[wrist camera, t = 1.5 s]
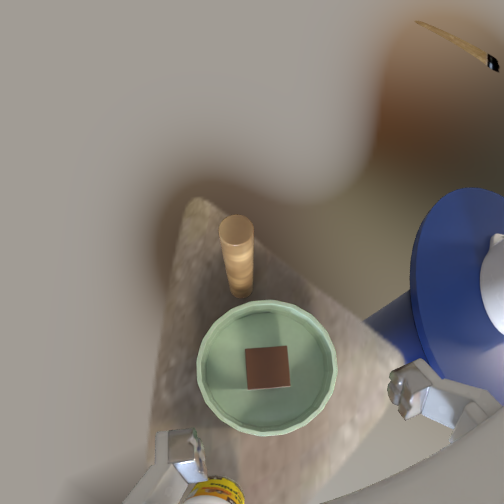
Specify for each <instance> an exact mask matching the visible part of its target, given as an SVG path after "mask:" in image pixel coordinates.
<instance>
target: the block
mask: <svg viewBox="0 0 504 504" xmlns="http://www.w3.org/2000/svg"><path fill="white" fill-rule="evenodd" d="M245 359H246V374H247V388H248V390H257V389H270V388H281V387H290V386H291V383H290V371H289V360H288V349H287V346H274V347H262V348H247V349H245Z"/></svg>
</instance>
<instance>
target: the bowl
mask: <svg viewBox="0 0 504 504" xmlns="http://www.w3.org/2000/svg"><path fill="white" fill-rule="evenodd" d="M274 346H287V349H288V360H289V371H290V383H291V386H290V387H281V388H270V389H257V390H248V388H247V374H246V359H245V349H247V348H262V347H274ZM196 367H197V383H198V385H199V388H200V391H201V393H202V396H203V398H204V401H205V402H206V404H207V405H208V406H209V408H210V409H211V410H212V411H213V412H214V414H215V415H216V416H217V417H218V418H219V419H220V420H221V421H223V422H224V423H226V424H228V425H229V426H231V427H233V428H234V429H236V430H238V431H240V432H244V433H248V434H253V435H257V436H272V435H283V434H286V433H289V432H291V431H293V430H296V429H298V428H300V427H303V426H305V425H306V424H307V423H309V422H310V421H311V420H312V419H313V418H314V417H315V416H317V415H318V414H319V413H320V412H321V411H322V410H323V408H324V407H325V405H326V403H327V402H328V400H329V398H330V396H331V395H332V393H333V390H334V386H335V381H336V377H337V372H338V369H337V360H336V351H335V348H334V346H333V343H332V341H331V339H330V337H329V335H328V333H327V331H326V329H325V328H324V327H323V326H322V325H321V324H320V323H319V322H318V321H317V320H316V318H315V317H314V316H313V315H311V314H310V313H308V312H306V311H305V310H303V309H301V308H299V307H298V306H296V305H294V304H290V303H286V302H281V301H277V300H259V301H250V302H248V303H245V304H242V305H240V306H237V307H235V308H232V309H230V310H229V311H228V312H226V313H225V314H224V315H223V316H221V317H220V318H219V319H218V320H216V321H215V322H214V323H213V325H212V326H211V328H210V329H209V331H208V332H207V333H206V335H205V336H204V338H203V339H202V342H201V346H200V349H199V353H198V356H197V361H196Z"/></svg>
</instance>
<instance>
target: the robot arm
mask: <svg viewBox="0 0 504 504" xmlns="http://www.w3.org/2000/svg"><path fill="white" fill-rule="evenodd" d="M480 290H481V296H482V300H483V304H484V307H485V310H486V312H487V314H488V316H489V318H490V320H491V322H492V323H493V325H494V326H495V327H496V328H497V330H498V331H499V332H501V333H502V334H503V335H504V235H502V234H494V235H493V236H492V237H491V239H490V247H489V251H488V253H487V255H486V256H485V258H484V260H483V263H482V266H481V271H480ZM389 378H390V379H391V381H390V383H389V384H388V388H387V391H388V396H389V398H390V400H391V402H392V403H393V404H395V405H397V406H398V411H399V413H400V414H401V416H402V417H403V418H404V420H405V421H406V420H408V419H410V418H412V417H414V416H417V415H419V414H421V413H422V415H424V416H426V417H428V418H430V419H432V420H435V421H437V422H439V423H441V424H443V425H445V426H448V427H450V428H452V429H454V430H453V432H452V434H451V436H450V438H449V441H450V443H451V444H449V445H447V446H446V447H444V448H442V449H441V450H439V451H438V452H436V453H434V454H432V455H431V456H429V457H427V458H425V459H423V460H422V461H420V462H418V463H416V464H414V465H412V466H410V467H408V468H406V469H404V470H403V471H400V472H399V473H396V474H394V475H392V476H390V477H388V478H386V479H383V480H381V481H379V482H377V483H374V484H372V485H370V486H367V487H365V488H362V489H360V490H357V491H355V492H352V493H350V494H347V495H344V496H341V497H339V498H336V499H333V500H330V501H327V502H324V503H321V504H504V406H502V405H501V404H500V403H499V402H498V401H497V400H496V399H495V398H494V397H493V396H492V395H491V394H490V393H489V392H488V391H487V390H484V389H480V388H476V387H473V386H469V385H466V384H462V383H459V382H455V381H452V380H449V379H445V378H444V379H441V378H440V377H439V376H438V375H437V373H436V372H435V371H434V370H433V369H432V368H431V367H430V366H429V365H428V364H427V363H426V362H425V361H424V360H423V359H421V358H420V359H418V360H416V361H413V362H411V363H408V364H406V365H404V366H402V367H400V368H397V369H395V370H393V371H391V373H390V376H389ZM205 459H206V456H205V451H204V446H203V444H202V441H201V439H200V438H198V437H197V432H196V430H195V428H187V429H179V430H169V431H160V432H157V433H156V438H155V465H151V466H150V467H149V469H148V470H147V471H146V473H145V474H144V475H143V476H142V478H141V479H140V480H139V482H138V483H137V484H136V486H135V487H134V488H133V489H132V491H131V492H130V493H129V494H128V496H127V497H126V498H125V500H124V501H123V502H122V504H178V503H179V501H180V499H181V497H182V496H183V494H184V492H185V490H186V488H187V486H188V484H190V483H197V482H204V481H208V474H207V467H206V465H205V464H204V461H205Z"/></svg>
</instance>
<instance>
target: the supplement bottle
mask: <svg viewBox="0 0 504 504" xmlns="http://www.w3.org/2000/svg"><path fill="white" fill-rule="evenodd" d="M183 504H244V492H243V490H242V488H241V487H240V486H239V484H238V483H236V482H235V481H234V480H232V479H230V478H228V477H224V476H209V477H208V481H204V482H198V483H197V484H196V485H195V487H194V488H193V490H192V491H191V492H190V494H189V495H188V497H187V498H186V500H185V501H184V502H183Z"/></svg>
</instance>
